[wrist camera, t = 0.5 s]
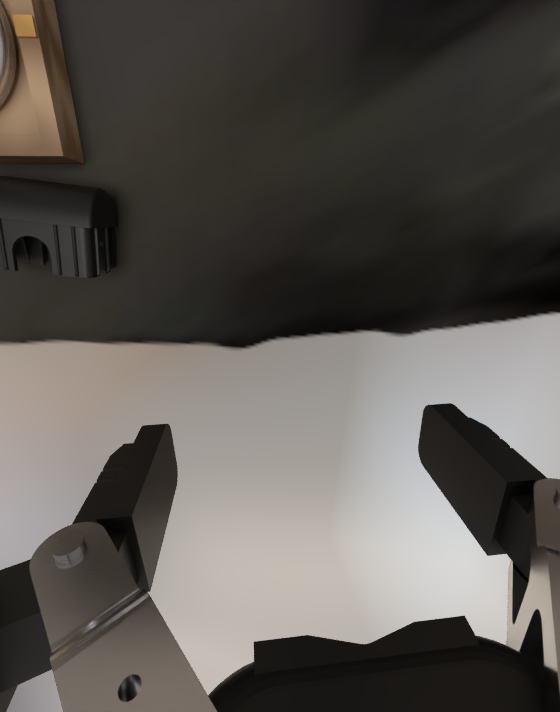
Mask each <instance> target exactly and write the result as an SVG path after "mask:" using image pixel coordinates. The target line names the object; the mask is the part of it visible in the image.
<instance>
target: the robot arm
mask: <svg viewBox="0 0 560 712" xmlns="http://www.w3.org/2000/svg"><path fill="white" fill-rule="evenodd" d="M418 451H419V457H420V460H421V463H422V465H423V466H424V468H425V469H426V470H427V472H428V473H429V475H430V476H431V478H432V479H433V480H434V482H435V483H436V485H437V486H438V487H439V489H440V490H441V491H442V493H443V494H444V496H445V497H446V498H447V500H448V501H449V503H450V504H451V505H452V507H453V508H454V509H455V511H456V512H457V514H458V515H459V516H460V518H461V519H462V521H463V522H464V523H465V525H466V526H467V528H468V529H469V531H470V532H471V533H472V535H473V536H474V537H475V539H476V540H477V542H478V543H479V544H480V546H481V547H482V549H483V550H484V551H485V553H486V554H487V555H498V554H507V555H508V556H509V557H510V559H511V563H510V566H509V575H508V622H507V625H508V626H507V641H506V645H504V644H501V643H499V642H496V641H494V640H490V639H487V638H483V637H480V636H475V635H474V632H473V631H472V629H471V627H470V625H469V623H468V621H467V620H466V618H465V616H459V617H451V618H443V619H435V620H427V621H419V622H414V623H411V624H409V625H407V626H405V627H403V628H401V629H399V630H397V631H395V632H393V633H391V634H389V635H386V636H384V637H382V638H380V639H378V640H376V641H374V642H372V643H369V644H357V643H351V642H344V641H339V640H333V639H326V638H321V637H314V636H309V635H306V636H298V637H290V638H281V639H273V640H266V641H258V642H254V662H253V663H250V664H248V665H246V666H244V667H242V668H241V669H239V670H237V671H236V672H235V673H233V674H232V675H230V676H229V677H227V678H226V679H225V680H224V681H223V682H222V683H220V684H219V685H218V686H217V687H216V688H215V689H214V690H213V691H212V692H211V693H210V694H209V695H207V693H206V692H205V690H204V688H203V686H202V685H201V683H200V681H199V679H198V678H197V676H196V674H195V673H194V671H193V669H192V668H191V666H190V664H189V662H188V660H187V659H186V657H185V655H184V654H183V652H182V650H181V649H180V647H179V645H178V643H177V641H176V640H175V638H174V636H173V635H172V633H171V631H170V630H169V628H168V626H167V625H166V623H165V621H164V619H163V617H162V616H161V614H160V612H159V610H158V609H157V607H156V605H155V604H154V602H153V600H152V598H151V597H150V595H149V594H148V593H147V592H149V591H150V590H151V586H152V582H153V578H154V574H155V570H156V566H157V562H158V558H159V554H160V550H161V546H162V542H163V538H164V534H165V530H166V526H167V522H168V518H169V514H170V510H171V506H172V502H173V498H174V494H175V490H176V486H177V462H176V457H175V451H174V445H173V439H172V433H171V429H170V426H169V424H159V425H146V426H142V427H141V429H140V431H139V433H138V435H137V437H136V439H135V441H134V443H131V444H123V445H122V446H121V447H120V448H119V449H118V450H117V451H115V452H114V453H113V454H112V455H111V456H110V457H109V459H108V461H107V463H106V465H105V466H104V468H103V472H101V473H100V475H99V477H98V479H97V483H95V484H94V486H93V488H92V490H91V491H90V493H89V495H88V497H87V498H86V500H85V502H84V504H83V506H82V507H81V509H80V511H79V513H78V515H77V516H76V518H75V520H74V522H73V524H72V525H70V526H67V527H65V528H63V529H61V530H59V531H57V532H56V533H54V534H53V535H51V536H50V537H49V538H47V539H46V540H45V541H44V542H43V543H42V544H41V545H40V546H39V547H38V548H37V550H36V551H35V553H34V554H33V556H32V558H31V559H30V560H27V561H25V562H22V563H19V564H17V565H14V566H11V567H8V568H5V569H2V570H0V712H6V710H7V708H8V706H9V704H10V701H11V699H12V697H13V695H14V692H15V690H16V688H17V685H18V684H21V683H23V682H25V681H27V680H29V679H32V678H34V677H36V676H38V675H40V674H43V673H45V672H47V671H49V670H51V669H52V671H53V674H54V678H55V682H56V686H57V690H58V693H59V697H60V701H61V705H62V709H63V712H560V479H551V478H546V477H545V476H544V475H543V474H542V473H541V472H540V471H538V470H537V469H536V468H535V467H534V466H533V465H531V464H530V463H529V462H528V461H527V460H526V459H524V458H523V457H522V456H521V455H520V454H519V453H517V452H516V451H515V450H514V449H513V448H510V446H509V445H508V444H507V443H506V442H505V441H504V440H502V439H500V438H499V436H498V435H497V434H496V433H494V432H493V431H492V430H491V429H490V428H489V427H487V426H486V425H484V424H482V423H479V422H478V421H476V420H474V419H472V418H468V417H467V416H466V415H465V414H464V413H462V412H461V411H460V410H459V409H458V408H457V407H456V406H455V405H453V404H436V405H427V406H426V407H425V408H424V411H423V417H422V424H421V432H420V438H419V446H418Z"/></svg>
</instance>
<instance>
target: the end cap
mask: <svg viewBox="0 0 560 712" xmlns="http://www.w3.org/2000/svg"><path fill="white" fill-rule="evenodd" d="M114 227H117V224H116V216H115V211H114V207H113V204H112V201H111V199H110V197H109V195H108V194H107V193H106V192H105V191H104V190H102V189H100V188H92V187H84V186H76V185H69V184H61V183H53V182H45V181H37V180H29V179H21V178H13V177H5V176H0V270H9V271H17V270H18V265H17V262H21V263H31V264H41V265H45V264H46V263H50V264H52V270H53V275H62V276H72V277H83V278H94V277H97V276H100V274H101V273H107V272H110V269H112V268H114V267H115V265H116V252H115V231H114ZM100 270H101V271H100Z"/></svg>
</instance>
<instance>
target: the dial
mask: <svg viewBox="0 0 560 712" xmlns="http://www.w3.org/2000/svg"><path fill="white" fill-rule="evenodd" d="M15 70H16V50H15V43H14V38H13V34H12V30H11V27H10V23H9V21H8V18H7V16H6V13H5V11H4V9H3V7H2V5H1V3H0V106H1V105H2V104H3V102H4V101H5V100H6V98H7V96H8V94H9V92H10V90H11V87H12V85H13V81H14V76H15Z"/></svg>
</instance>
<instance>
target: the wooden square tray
mask: <svg viewBox="0 0 560 712" xmlns="http://www.w3.org/2000/svg"><path fill="white" fill-rule="evenodd" d="M0 3H1V5H2V7H3V9H4V11H5V13H6V16H7V18H8V21H9V23H10V27H11V30H12V34H13V38H14V43H15V50H16V70H15V76H14V81H13V85H12V87H11V90H10V92H9V94H8V96H7V98H6V100H5V101H4V102H3V104H2V105H1V106H0V163H51V164H85V163H84V158H83V153H82V147H81V142H80V137H79V131H78V126H77V121H76V115H75V110H74V105H73V99H72V94H71V89H70V83H69V78H68V73H67V67H66V62H65V56H64V51H63V46H62V40H61V35H60V30H59V24H58V19H57V14H56V8H55V3H54V0H0Z"/></svg>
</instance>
